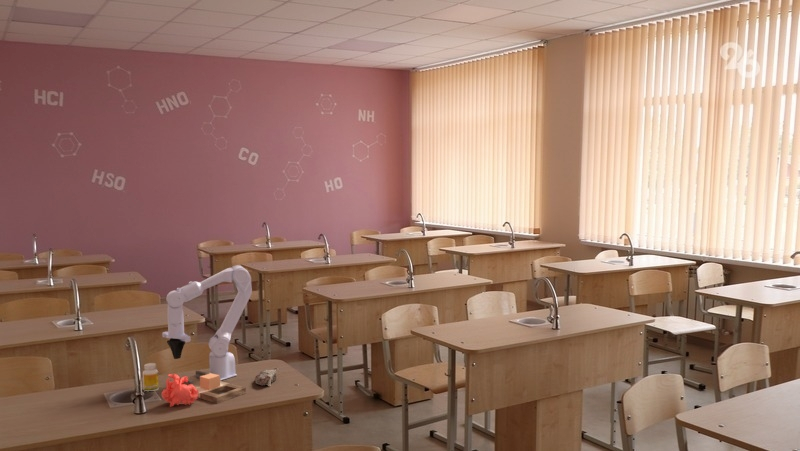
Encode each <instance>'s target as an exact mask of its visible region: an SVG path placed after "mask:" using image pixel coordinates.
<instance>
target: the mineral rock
mask: <svg viewBox="0 0 800 451" xmlns="http://www.w3.org/2000/svg"><path fill="white" fill-rule="evenodd" d="M254 381H255V384H256V385H259V386H267V387H269V388H270V387H271V386H272V385H271V384H272V383H273V382H274V381H277V369H263V370H261V371H260V372H258V373H257V375H255V377H254Z"/></svg>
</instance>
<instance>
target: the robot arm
mask: <svg viewBox="0 0 800 451" xmlns="http://www.w3.org/2000/svg"><path fill="white" fill-rule="evenodd" d="M223 282H224V283H225V282H227V283H234V285H235V287H236V290H237V293H236V295H235V298H234V300H233V302H231V303H232V304H231V305H230V308H228V311H227V313H226V315H225V317H224V319H223V321H222V323H221V324H220V327H219V328H218V329H217V331H216V332H215V334H214V335H213V336H212V337H210V339H209V340H208V347H209V349H210V352H209V353H208V359H209V360H208V361H209V364H208V366H209V373H212V374H216V375H220V381H223V380H226V379H231V378H233V377H235V376H236V377H237V376H238V374H237V373H236V359H235V356H234V354H233V353H232V352H230V351H229V344H230V341H231V339H232V338H231V337H232V334H233V332H234V330H235V328H236V326H237V324H238V322H239V320H240V318H241V316H242V315H243V313H244V310H245V309H246V306H247V304H248V302H249V300H250V298H251V296H252V294H253V287H252V276H251V274H250V272H249V270H247V269H246V268H244V267H243V266H242V265H241V264H238V265H237V264H236V265H233V266H232V267H228V268H225V269H223V270H221V271H220V272H217V273H216V274H213V275H211V276H210V277H208V278H206V279H204V280H202V281H189V282H188V284H185V285H183V286H182V287H177V288H176V290H171V291H170V292H168V294H166V298H165V300H166V303H167V306H166V307H167V312H166V314H167V328H168V329H167V331H163V332H162V333H161V334H162V338H166V339H169V340H167V341H166V343H167V346H168V347H169V348H170V351H171V354H172V358H173V359H175V360H178V359H181V358H182V353H183V349H184V347H185V344H186V343H190V342H191V341H192V339H191V338H192V337H191V336H190V335H188V334H187V333H185V321H184V315H185V314H184V308H183V304H184V303H187V302H189V301H192V300H193V299H195V298H197V297H200V296H201V295H203V292H204V290H206V289H209V288H212V287H215V286H216V285H219V284H221V283H223Z"/></svg>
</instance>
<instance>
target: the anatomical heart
mask: <svg viewBox="0 0 800 451" xmlns="http://www.w3.org/2000/svg"><path fill="white" fill-rule="evenodd" d="M167 376H168V378H166V381H165V382H166V383H165V384H166V386H165V387H166V388H164V389H163V390H162V392H161V396H162V399H163V400H164V401H166V402H167V403H168V404H169V407H170V408H172V407H174V406H175V405H177V406H179V405H180V404H181V403H182V405H185V406H186V405H189V406H190V405H192V404H193V403H194V402H195V400H198V398H197V396H198V392H199V391H198V390H197V389H196V387H194V386H193V384H189V385H188V386H187V385H185V384H183V385H181V383H184V382H188V379H187V378H188V377H189V376H186V375H184V376H182V377H181V379H179V378H180V376H179V375H178V374H176V373H173V374H172V373H170V374H168V375H167ZM171 379H172V380H173V381H170V380H171ZM190 390H191V392H190Z"/></svg>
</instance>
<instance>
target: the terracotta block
mask: <svg viewBox="0 0 800 451" xmlns="http://www.w3.org/2000/svg"><path fill="white" fill-rule="evenodd" d="M209 373H210V372H209ZM217 387H220V375H216V374H212V373H210V374H207V375H203V376H200V388H204V389H208V390H210V389H213V388H217Z"/></svg>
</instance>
